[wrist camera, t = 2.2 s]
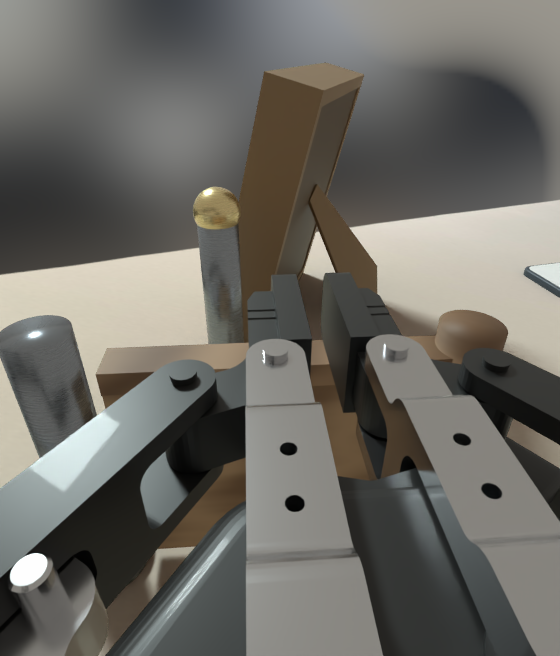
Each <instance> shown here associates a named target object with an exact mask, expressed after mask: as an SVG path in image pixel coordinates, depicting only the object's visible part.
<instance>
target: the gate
mask: <svg viewBox="0 0 560 656" xmlns="http://www.w3.org/2000/svg"><path fill="white" fill-rule="evenodd" d="M507 336H508V330H507V328H506V326H505V325H504V324H503V323H502V322H500V321H499V320H497V319H496V318H494V317H492V316H489V315H487V314H484V313H480V312H476V311H470V310H454V311H449V312H447V313H444V314H443V315H442V316H441V317H440V319H439V323H438V328H437V332H436V335H432V336H406V337H408V338H410V339H413V340H415V341H416V342H418V343H419V344H420V345H421V346H422V347H423V348H424V349H425V351H426V353H427V354H428V356H429V357H430V359H433V360H438V361H443V362H450V363H456V364H461V363H462V359H463V356H464V354H465V353H466V352H468V351H470V350H472V349H477V348H491V349H496V350H501V351H503V348H504V345H505V342H506V339H507ZM248 349H249V343H229V344H204V345H178V346H153V347H128V348H107V349H106V352H105V354H104V356H103V359H102V361H101V363H100V366H99V368H98V370H97V372H96V378H97V381H98V385H99V389H100V393H101V396H102V397H103V401H104V404H105V408H108V407H109V406H110V405H112V404H113V403H114V402H116V401H117V400H118V399H120V398H121V397H122V396H124V395H125V394H126V393H128V392H129V391H130V390H132V389H133V388H134V387H136V386H137V385H138V384H140V383H141V382H142V381H144V380H145V379H146V378H148V377H149V376H150V375H152V374H153V373H154V372H156V371H157V370H158V369H159V368H161V367H163V366H164V365H166V364H168V363H171V362H174V361H178V360H188V359H190V360H199V361H202V362H205V363H207V364H209V365H210V366H211V367H212V368H213V369H214V371H215V373H216V372H220V371H224V370H227V369H230V368H233V367H235V366H237V365H238V364H240V363H241V362H242V361H243V360H244V359H245V358H246V353H247V350H248ZM310 380H311V385H312V390H313V395H314V400H315V402H320V403H321V405H322V408H323V413H324V417H325V422H326V426H327V431H328V436H329V440H330V445H331V449H332V454H333V458H334V463H335V467H336V472H337V476H342V477H348V478H355V479H362V480H370V479H369V476H368V473H367V470H366V466H365V463H364V460H363V457H362V453H361V450H360V447H359V444H358V440H357V437H356V426H357V415H356V412H354V413H343V411H342V407H341V404H340V400H339V396H338V393H337V389H336V386H335V382H334V379H333V375H332V372H331V368H330V365H329V361H328V357H327V354H326V350H325V347H324V343H323V340H312V351H311V372H310ZM244 501H246V458H243V459H240V460H237V461H234V462H231V463H228V464H225V465H224V467H223V471H222V473H221V475H220V476H219V477H218V479H217V480H216V481H215V482H214V483H213V485H212V486H211V487H210V488H209V489H208V490H207V492H206V493H205V494H204V495H203V496H202V497H201V499H200V500H199V501H198V502H197V503H196V504H195V506H194V507H193V508H192V509H191V510H190V511H189V513H188V514H187V515H186V516H185V517H184V518H183V520H182V521H181V522H180V523H179V524H178V525H177V527H176V528H175V529H174V530H173V531H172V532H171V534H170V535H169V536H168V537H167V538H166V540H165V541H164V542H163V543H162V544H161V545H160V547H159V548H158V549H163V548H178V547H193V546H197V544H198V543H199V542H200V541H201V539H202V538H203V537H204V536H205V535H206V533H207V532H208V531H209V530H210V529H211V528H212V526H213V525H214V524H215V523H216V522H217V521H218V520H219V519H221V518H222V517H223V516H224V515H225V514H226V513H227V512H228V511H230V510H231V509H233V508H234V507H235V506H237V505H238V504H240V503H242V502H244Z"/></svg>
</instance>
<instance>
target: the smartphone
mask: <svg viewBox="0 0 560 656" xmlns="http://www.w3.org/2000/svg"><path fill="white" fill-rule="evenodd" d="M524 275H525V276H526V277H527V278H529V279H531V280H532V281H534V282H535V283H537V284H539V285H540V286H542V287H543V288H545V289H547V290H548V291H550V292H551V293H553V294H555V295H556V296H558V297H559V298H560V262H559V263H551V264H543V265H535V266H528V267H526V268H525V271H524Z"/></svg>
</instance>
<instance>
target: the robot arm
mask: <svg viewBox="0 0 560 656" xmlns="http://www.w3.org/2000/svg"><path fill="white" fill-rule="evenodd" d="M247 307H248V340H249V349H248V350H247V353H246V358H245V359H244V360H243V361H242V362H241V363H240V364H238V365H237V366H235V367H233V368H230V369H227V370H224V371H220V372H216V373H215V371H214V369H213V368H212V367H211V366H210V365H209V364H207V363H205V362H202V361H199V360H190V359H188V360H178V361H174V362H171V363H168V364H166V365H164V366H163V367H161V368H159V369H158V370H157V371H156V372H154V373H153V374H152V375H150V376H149V377H148V378H146V379H145V380H144V381H142V382H141V383H140V384H138V385H137V386H136V387H134V388H133V389H132V390H130V391H129V392H128V393H126V394H125V395H124V396H122V397H121V398H120V399H118V400H117V401H116V402H114V403H113V404H112V405H110V406H109V407H108V408H106V409H105V410H104V411H102V412H101V413H100V414H98V415H97V416H96V417H94V418H93V419H92V420H90V421H89V422H88V423H86V424H85V425H84V426H83V427H81V428H80V429H79V430H77V431H76V432H75V433H73V434H72V435H71V436H69V437H68V438H67V439H65V440H64V441H63V442H61V443H60V444H59V445H57V446H56V447H55V448H53V449H52V450H51V451H49V452H48V453H47V454H45V455H44V456H43V457H41V458H40V459H39V460H37V461H36V462H35V463H33V464H32V465H31V466H29V467H28V468H27V469H25V470H24V471H23V472H21V473H20V474H19V475H17V476H16V477H15V478H14V479H12V480H11V481H10V482H8V483H7V484H6V485H4V486H3V487H2V488H0V656H98V655H99V653H100V652H101V650H102V648H103V646H104V643H105V640H106V637H107V633H108V615H107V612H106V609H107V607H108V606H109V605H110V604H111V603H112V601H113V600H114V599H115V598H116V597H117V596H118V594H119V593H120V592H121V591H122V590H123V589H124V587H125V586H126V585H127V584H128V583H129V582H130V580H131V579H132V578H133V577H134V576H135V575H136V573H137V572H138V571H139V570H140V569H141V568H142V566H143V565H144V564H145V563H146V562H147V561H148V559H149V558H150V557H151V556H152V555H153V554H154V552H155V551H156V550H157V549H158V548H159V547H160V545H161V544H162V543H163V542H164V541H165V540H166V538H167V537H168V536H169V535H170V534H171V532H172V531H173V530H174V529H175V528H176V527H177V525H178V524H179V523H180V522H181V521H182V520H183V518H184V517H185V516H186V515H187V514H188V513H189V511H190V510H191V509H192V508H193V507H194V506H195V504H196V503H197V502H198V501H199V500H200V499H201V497H202V496H203V495H204V494H205V493H206V492H207V490H208V489H209V488H210V487H211V486H212V485H213V483H214V482H215V481H216V480H217V479H218V477H219V476H220V475H221V473H222V471H223V467H224V465H225V464H228V463H231V462H234V461H237V460H240V459H243V458H246V501H244V502H242V503H240V504H238V505H237V506H235V507H234V508H233V509H231V510H230V511H228V512H227V513H226V514H225V515H224V516H223V517H222V518H221V519H219V520H218V521H217V522H216V523H215V524H214V525H213V526H212V528H211V529H210V530H209V531H208V532H207V533H206V535H205V536H204V537H203V538H202V539H201V541H200V542H199V543H198V544H197V546H196V547H195V548H194V549H193V550H192V552H191V553H190V554H189V555H188V556H187V558H186V559H185V560H184V561H183V562H182V564H181V565H180V566H179V567H178V569H177V570H176V571H175V572H174V573H173V575H172V576H171V577H170V578H169V579H168V581H167V582H166V583H165V584H164V585H163V587H162V588H161V589H160V590H159V592H158V593H157V594H156V595H155V596H154V598H153V599H152V600H151V601H150V602H149V604H148V605H147V606H146V607H145V608H144V610H143V611H142V612H141V613H140V614H139V616H138V617H137V618H136V619H135V621H134V622H133V623H132V624H131V625H130V627H129V628H128V629H127V630H126V631H125V633H124V634H123V635H122V636H121V637H120V639H119V640H118V641H117V642H116V643H115V645H114V646H113V647H112V648H111V649H110V651H109V652H108V653H107V654H106V655H105V656H560V469H559V468H558V467H556V466H554V465H553V464H551V463H549V462H548V461H546V460H544V459H543V458H541V457H539V456H538V455H536V454H534V453H533V452H531V451H529V450H528V449H526V448H524V447H523V446H521V445H519V444H518V443H516V442H514V441H513V440H511V439H509V438H508V437H506V436H507V433H508V431H509V428H510V425H511V422H512V420H513V419H515V420H517V421H519V422H521V423H522V424H524V425H526V426H528V427H529V428H531V429H533V430H535V431H536V432H538V433H540V434H542V435H543V436H545V437H547V438H549V439H551V440H552V441H554V442H556V443H557V444H559V445H560V377H558V376H556V375H554V374H551V373H549V372H547V371H545V370H543V369H541V368H539V367H537V366H535V365H532V364H530V363H528V362H526V361H524V360H522V359H520V358H518V357H515V356H513V355H511V354H509V353H506V352H504V351H501V350H496V349H491V348H477V349H472V350H470V351H468V352H466V353H465V354H464V356H463V359H462V363H461V364H456V363H450V362H443V361H438V360H433V359H430V357H429V356H428V354H427V353H426V351H425V349H424V348H423V347H422V346H421V345H420V344H419V343H418V342H416V341H415V340H413V339H410V338H408V337H404V336H402V335H401V333H400V331H399V329H398V328H397V326H396V324H395V322H394V321H393V319H392V317H391V315H389V312H388V310H387V308H386V307H385V304H384V303H383V301H382V299H381V297H380V296H379V295H378V294H376V293H375V292H373V291H372V290H370V289H369V288H358V287H357V285H356V283H355V281H354V279H353V277H352V275H351V273H350V272H347V273H325V275H324V280H323V296H322V313H321V333H322V340H323V343H324V347H325V350H326V354H327V357H328V361H329V365H330V368H331V372H332V375H333V379H334V382H335V386H336V389H337V393H338V396H339V400H340V404H341V407H342V411H343V413H354V412H356V415H357V426H356V437H357V440H358V444H359V447H360V450H361V453H362V457H363V460H364V463H365V466H366V470H367V473H368V476H369V479H370V480H362V479H355V478H348V477H342V476H337V472H336V467H335V463H334V458H333V454H332V449H331V445H330V440H329V436H328V431H327V426H326V422H325V417H324V413H323V408H322V405H321V403H320V402H315V400H314V395H313V390H312V385H311V380H310V372H311V351H312V336H311V332H310V328H309V324H308V320H307V316H306V312H305V308H304V304H303V300H302V296H301V292H300V288H299V284H298V280H297V276H296V274H281V275H271V291H258V292H254V293H253V294H252V295H251V296H250V298H249V299H248V300H247Z"/></svg>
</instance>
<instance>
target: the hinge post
mask: <svg viewBox="0 0 560 656" xmlns="http://www.w3.org/2000/svg"><path fill="white" fill-rule="evenodd" d="M0 358H1V361H2V363H3V366H4V368H5V371H6V373H7V376H8V378H9V381H10V384H11V386H12V389H13V391H14V394H15V396H16V399H17V401H18V404H19V407H20V409H21V412H22V414H23V417H24V419H25V422H26V424H27V427H28V430H29V432H30V435H31V437H32V440H33V442H34V445H35V448H36V450H37V453H38V455H39V458H41V457H43V456H44V455H45V454H47V453H48V452H49V451H51V450H52V449H53V448H55V447H56V446H57V445H59V444H60V443H61V442H63V441H64V440H65V439H67V438H68V437H69V436H71V435H72V434H73V433H75V432H76V431H77V430H79V429H80V428H81V427H83V426H84V425H85V424H86V423H88V422H89V421H90V420H92V419H93V418H94V417H96V416H97V414H96V411H95V407H94V404H93V400H92V396H91V393H90V389H89V386H88V382H87V378H86V375H85V371H84V367H83V364H82V360H81V357H80V353H79V349H78V346H77V342H76V339H75V335H74V331H73V328H72V324H71V322H70V321H69V320H68V319H66V318H64V317H60V316H53V315H45V316H36V317H31V318H27V319H24V320H21V321H18V322H16V323H13V324H11V325H9V326H8V327H6V328H5V329H3V330H2V331H1V332H0ZM146 563H147V562H146ZM146 563H145V564H146ZM145 564H144V565H143V566H142V568H141V569H140V570H139V571H138V572H137V573H136V575H135V576H134V577H133V578H132V579H131V580H130V582H132V581H133V580H134V579H135V578H136V577H137V576H138V575H139V573H140V572H141V571H142V569H143V568H144V566H145ZM130 582H129V583H130ZM129 583H128V584H129ZM128 584H127V585H128Z"/></svg>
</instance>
